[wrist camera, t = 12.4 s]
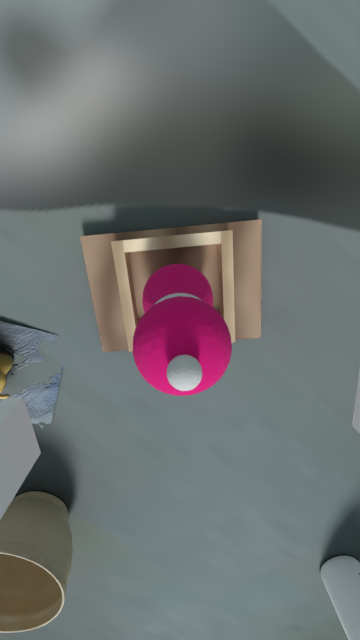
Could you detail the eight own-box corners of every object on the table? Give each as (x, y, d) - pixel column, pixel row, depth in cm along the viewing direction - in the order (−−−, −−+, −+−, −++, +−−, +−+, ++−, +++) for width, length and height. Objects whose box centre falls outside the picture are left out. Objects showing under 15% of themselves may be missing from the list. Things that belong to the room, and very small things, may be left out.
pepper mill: (135, 274, 31) (77, 345, 12) (193, 249, 30) (232, 280, 11) (161, 328, 33) (147, 462, 14) (216, 305, 32) (281, 414, 13)
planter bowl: (91, 477, 42) (64, 558, 32) (87, 546, 47) (63, 635, 37) (-16, 468, 41) (-79, 549, 30) (-8, 540, 46) (-60, 630, 35)
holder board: (257, 219, 30) (269, 218, 27) (257, 333, 35) (267, 345, 31) (84, 236, 30) (71, 236, 27) (105, 347, 35) (97, 361, 31)
